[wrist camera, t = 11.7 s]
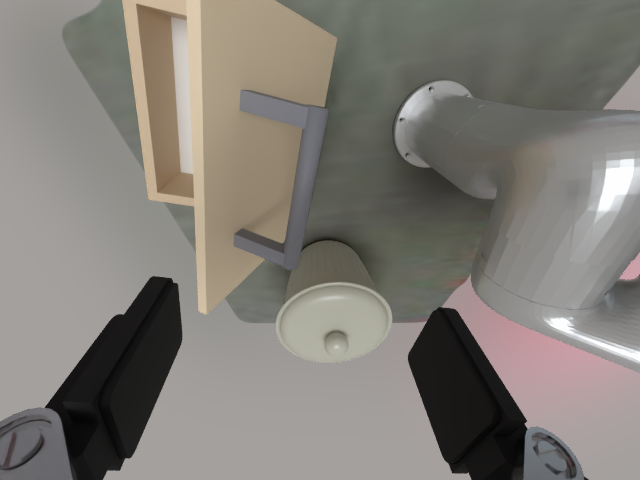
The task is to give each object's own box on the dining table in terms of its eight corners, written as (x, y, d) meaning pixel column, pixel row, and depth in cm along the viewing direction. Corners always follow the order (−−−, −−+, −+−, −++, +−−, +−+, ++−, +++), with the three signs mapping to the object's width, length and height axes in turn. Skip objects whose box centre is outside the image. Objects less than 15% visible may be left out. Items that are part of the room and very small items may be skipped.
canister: (262, 257, 55) (244, 348, 37) (338, 207, 50) (358, 284, 32) (316, 308, 63) (322, 402, 46) (385, 269, 59) (422, 357, 41)
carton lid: (330, 36, 29) (391, 49, 27) (297, 221, 40) (339, 237, 39) (184, -48, 12) (322, -27, 11) (198, 311, 23) (266, 343, 22)
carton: (323, 43, 37) (330, 36, 29) (298, 194, 48) (297, 221, 40) (164, 3, 34) (120, -17, 26) (177, 174, 45) (148, 199, 37)
